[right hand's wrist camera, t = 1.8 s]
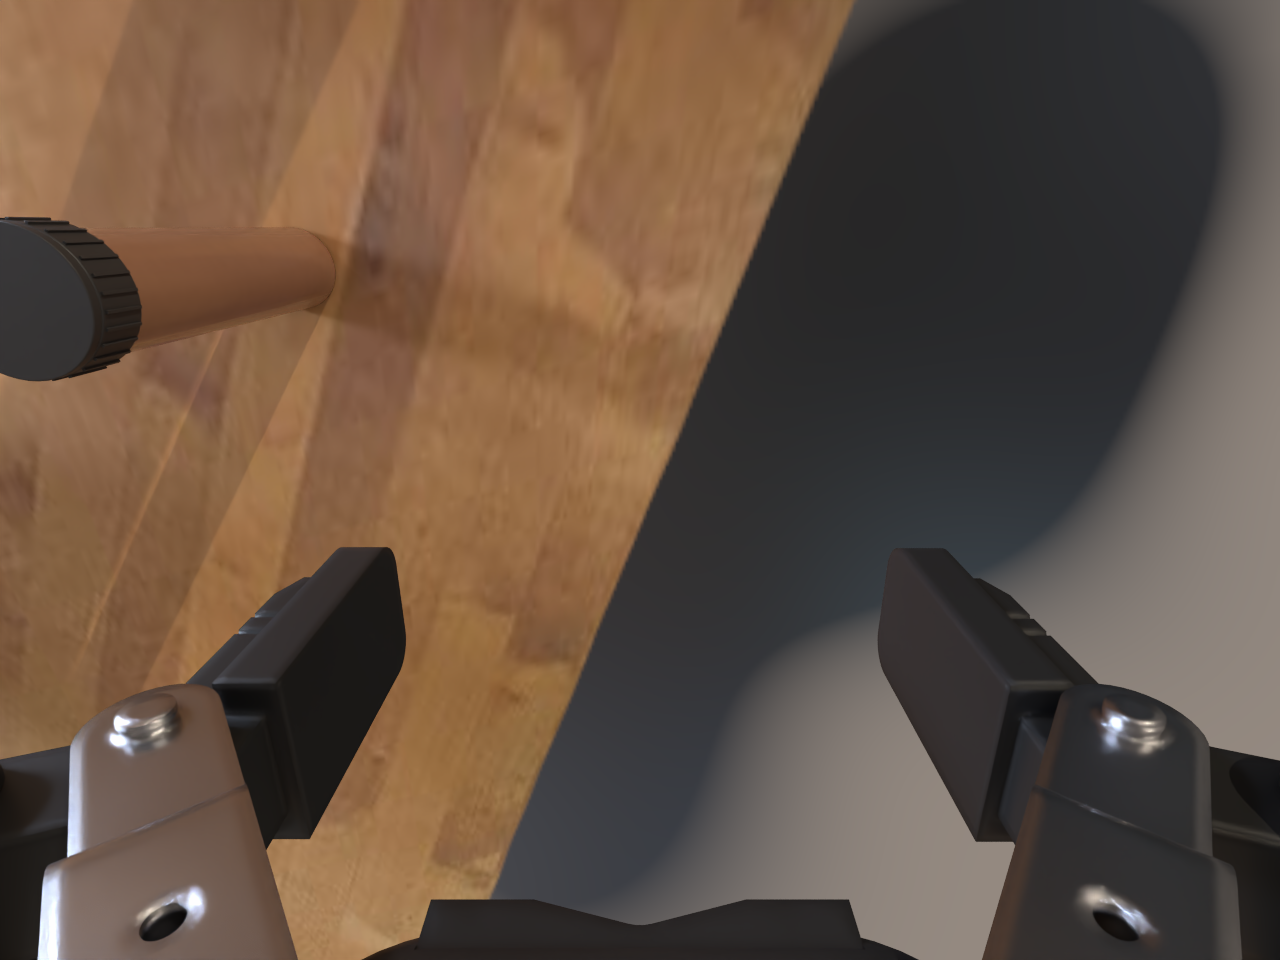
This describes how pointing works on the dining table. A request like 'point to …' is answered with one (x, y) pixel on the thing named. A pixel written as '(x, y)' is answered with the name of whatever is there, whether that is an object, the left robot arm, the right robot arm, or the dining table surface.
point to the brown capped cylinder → (218, 276)
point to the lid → (62, 301)
